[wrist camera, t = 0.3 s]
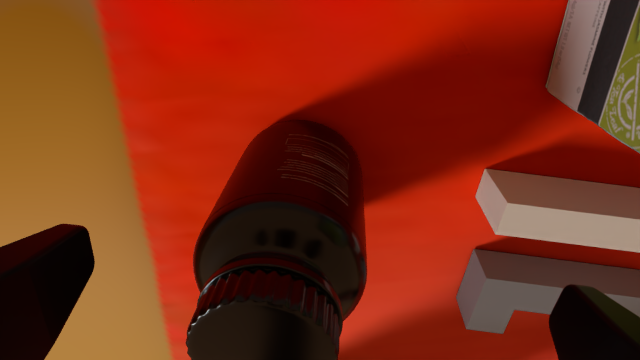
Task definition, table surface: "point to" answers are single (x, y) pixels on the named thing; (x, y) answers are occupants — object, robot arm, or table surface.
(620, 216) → the wall
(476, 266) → the block
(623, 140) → the tea box
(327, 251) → the supplement bottle
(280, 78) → the table surface
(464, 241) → the table surface
